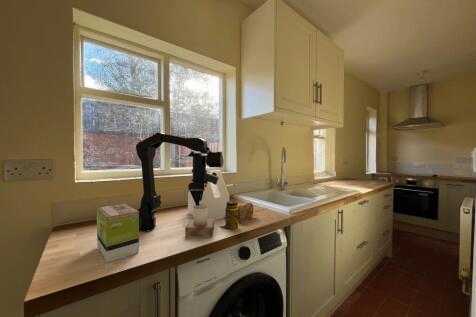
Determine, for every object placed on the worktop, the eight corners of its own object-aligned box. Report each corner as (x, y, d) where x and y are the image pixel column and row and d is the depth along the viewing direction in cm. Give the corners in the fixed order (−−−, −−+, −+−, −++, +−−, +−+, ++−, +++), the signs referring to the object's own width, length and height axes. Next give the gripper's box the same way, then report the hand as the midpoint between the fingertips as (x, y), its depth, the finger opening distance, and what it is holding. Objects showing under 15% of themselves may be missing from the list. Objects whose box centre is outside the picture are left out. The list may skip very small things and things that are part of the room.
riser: (185, 237, 84) (185, 227, 84) (190, 227, 95) (190, 219, 95) (212, 236, 85) (212, 227, 84) (213, 227, 96) (213, 219, 95)
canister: (192, 225, 86) (192, 207, 86) (194, 220, 92) (194, 204, 92) (206, 225, 87) (206, 207, 87) (208, 220, 93) (208, 204, 93)
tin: (239, 224, 101) (240, 207, 101) (234, 223, 102) (234, 206, 102) (253, 216, 113) (254, 201, 113) (248, 215, 115) (249, 200, 115)
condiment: (241, 228, 95) (242, 202, 95) (226, 232, 90) (226, 205, 90) (233, 224, 101) (233, 199, 101) (218, 227, 96) (218, 201, 96)
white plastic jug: (188, 213, 119) (188, 170, 119) (210, 209, 129) (210, 169, 129) (205, 221, 104) (205, 172, 104) (229, 216, 114) (229, 171, 114)
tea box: (96, 247, 74) (95, 206, 74) (126, 239, 81) (126, 202, 81) (106, 263, 63) (106, 215, 63) (140, 252, 70) (140, 210, 70)
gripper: (216, 168, 80) (216, 208, 81) (218, 166, 99) (218, 198, 99) (188, 168, 80) (187, 208, 80) (195, 166, 98) (195, 198, 98)
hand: (199, 202), depth 89 cm, fingers open, 9 cm apart
